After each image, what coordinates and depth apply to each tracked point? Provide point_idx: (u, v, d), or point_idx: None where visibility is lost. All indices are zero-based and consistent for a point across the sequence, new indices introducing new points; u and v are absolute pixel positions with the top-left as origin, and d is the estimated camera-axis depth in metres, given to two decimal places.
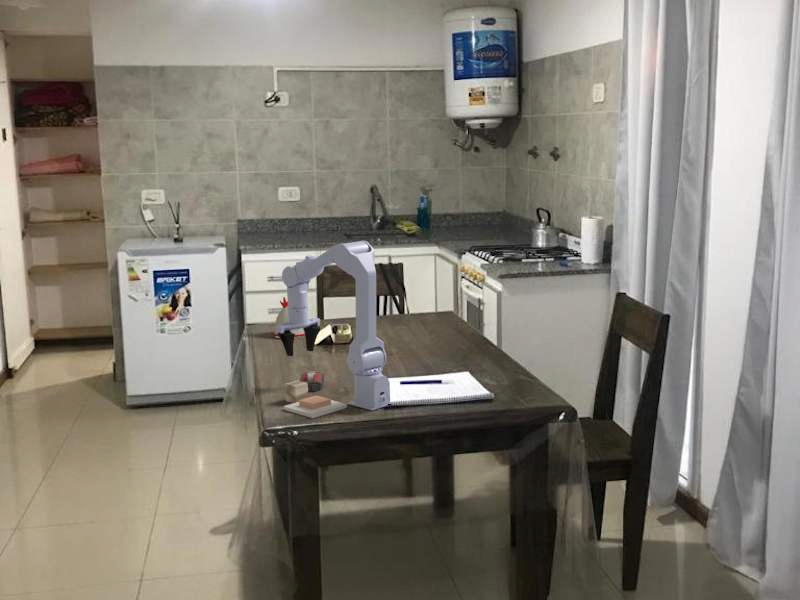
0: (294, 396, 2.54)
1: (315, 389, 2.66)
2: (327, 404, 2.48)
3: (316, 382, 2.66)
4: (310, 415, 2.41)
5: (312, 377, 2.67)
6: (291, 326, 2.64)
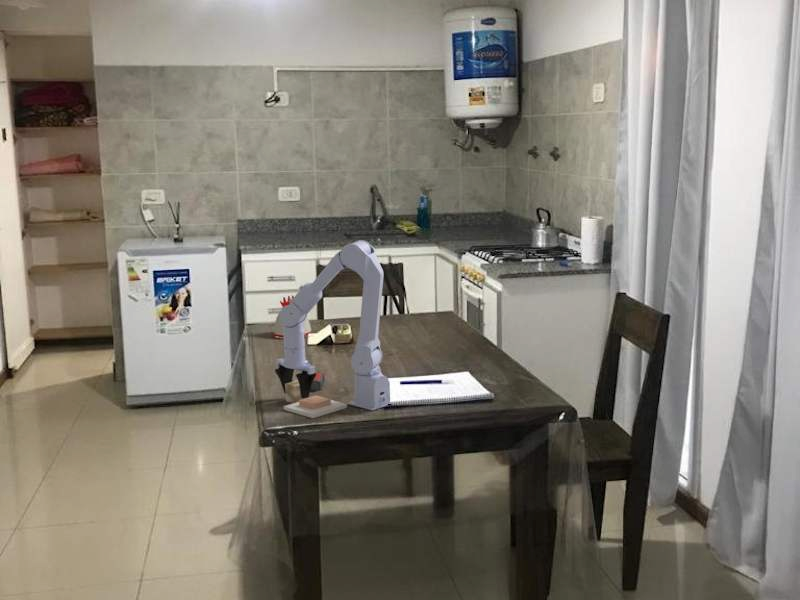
0: (294, 396, 2.54)
1: (315, 388, 2.66)
2: (327, 404, 2.48)
3: (316, 381, 2.66)
4: (310, 415, 2.41)
5: None
6: (280, 363, 2.57)
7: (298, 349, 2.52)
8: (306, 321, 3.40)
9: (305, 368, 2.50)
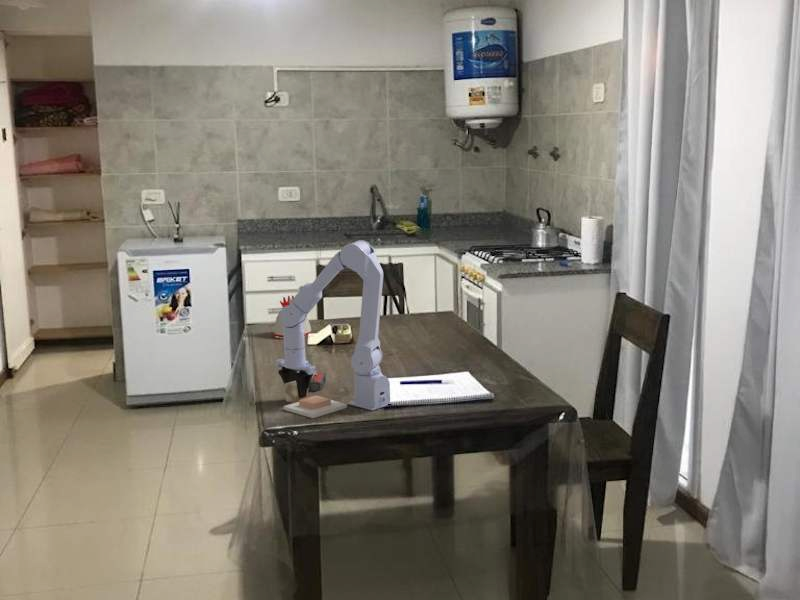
0: (294, 396, 2.54)
1: (315, 389, 2.66)
2: (327, 404, 2.48)
3: (316, 382, 2.66)
4: (310, 415, 2.41)
5: (312, 377, 2.67)
6: (281, 363, 2.57)
7: (298, 349, 2.52)
8: (306, 321, 3.40)
9: (305, 368, 2.50)
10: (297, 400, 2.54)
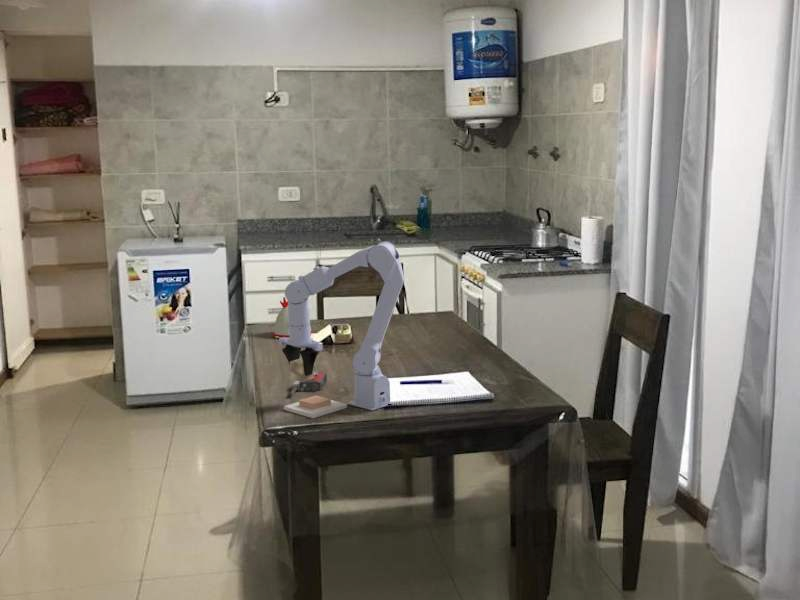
0: (300, 373, 2.50)
1: (315, 389, 2.66)
2: (327, 404, 2.48)
3: (316, 382, 2.66)
4: (310, 415, 2.41)
5: None
6: (285, 341, 2.52)
7: (304, 326, 2.48)
8: None
9: (312, 345, 2.47)
10: (303, 378, 2.50)
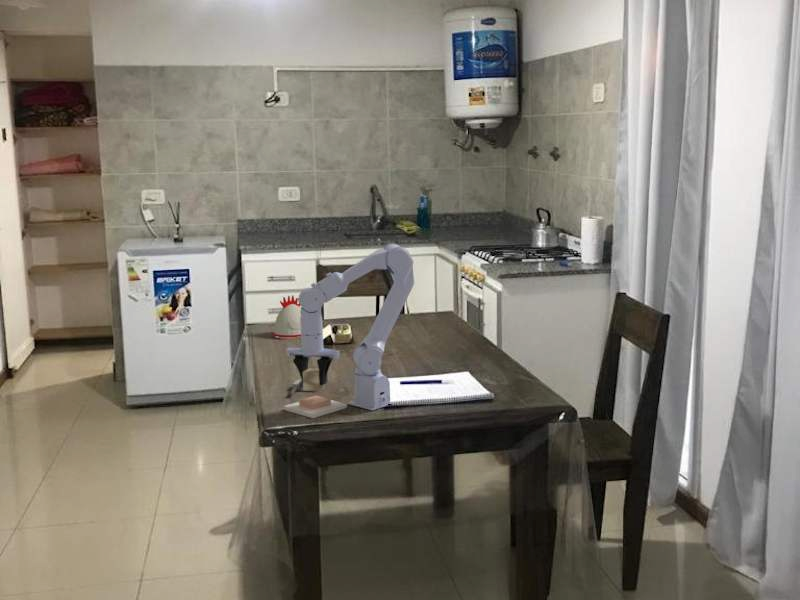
0: (316, 383, 2.45)
1: None
2: (327, 404, 2.48)
3: None
4: (310, 415, 2.41)
5: None
6: (295, 352, 2.46)
7: (320, 335, 2.44)
8: None
9: (331, 353, 2.43)
10: (319, 388, 2.45)
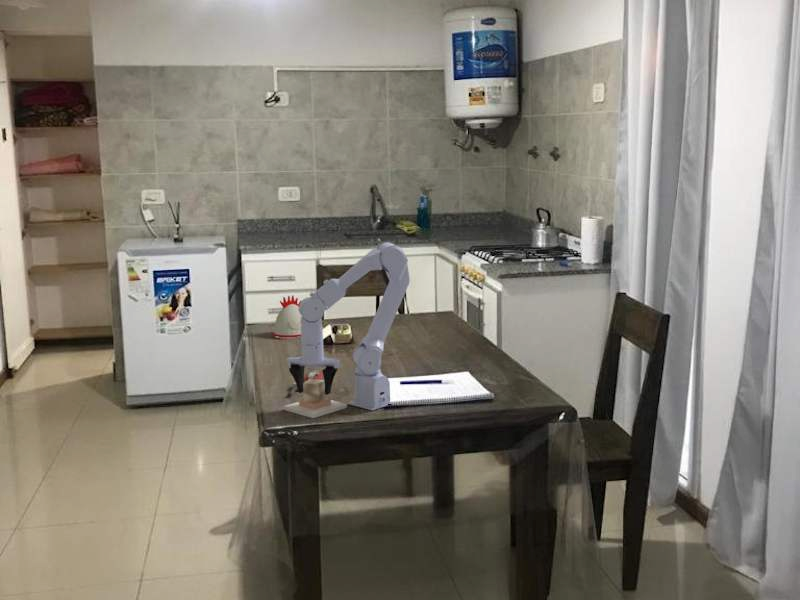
0: (317, 394, 2.45)
1: None
2: (327, 404, 2.48)
3: None
4: (310, 415, 2.41)
5: (313, 377, 2.68)
6: (296, 361, 2.46)
7: (320, 344, 2.44)
8: None
9: (331, 362, 2.44)
10: (319, 399, 2.46)
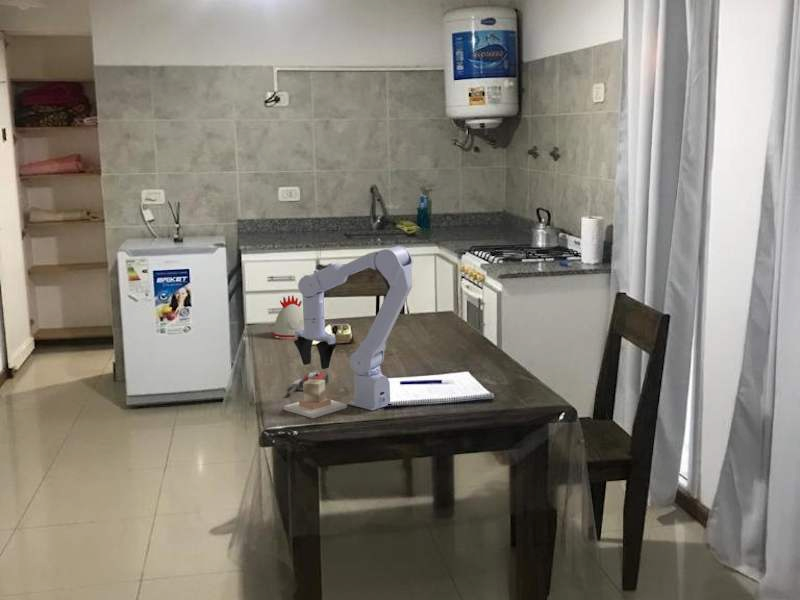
0: (317, 394, 2.45)
1: None
2: (327, 404, 2.48)
3: None
4: (310, 415, 2.41)
5: (312, 377, 2.68)
6: (299, 334, 2.56)
7: (318, 319, 2.51)
8: None
9: (325, 338, 2.50)
10: (319, 399, 2.46)
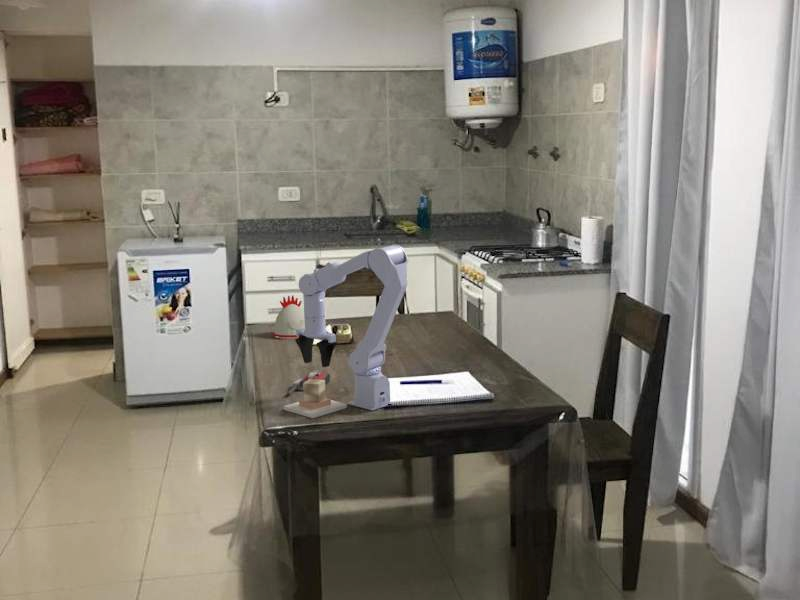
0: (317, 394, 2.45)
1: None
2: (327, 404, 2.48)
3: None
4: (310, 415, 2.41)
5: (312, 377, 2.68)
6: (301, 332, 2.58)
7: (319, 318, 2.53)
8: None
9: (326, 336, 2.52)
10: (319, 399, 2.46)
